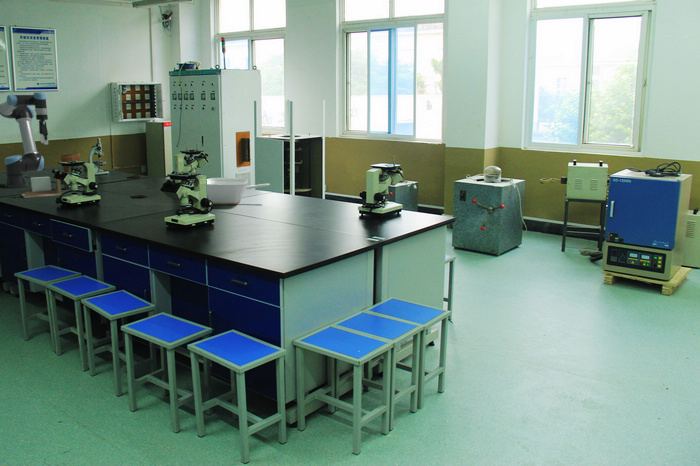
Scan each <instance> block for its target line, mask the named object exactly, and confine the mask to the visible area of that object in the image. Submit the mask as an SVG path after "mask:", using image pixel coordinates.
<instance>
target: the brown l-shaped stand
mask: <svg viewBox="0 0 700 466" xmlns="http://www.w3.org/2000/svg"><path fill="white" fill-rule="evenodd" d="M56 170H57V171H59V170H58V169H54V171H56ZM54 171H53V172H54ZM54 181H55V188H51V190H50V191H37V192H32V190H26V191H24V192H25V193H21V196H22V197H23V198H24V199H30V198H43V197H44V196H45V197H54V196H62V195H63V193H62V183H61V179H60V180H59V179H56V178H55V177H54ZM61 194H62V195H61Z"/></svg>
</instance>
